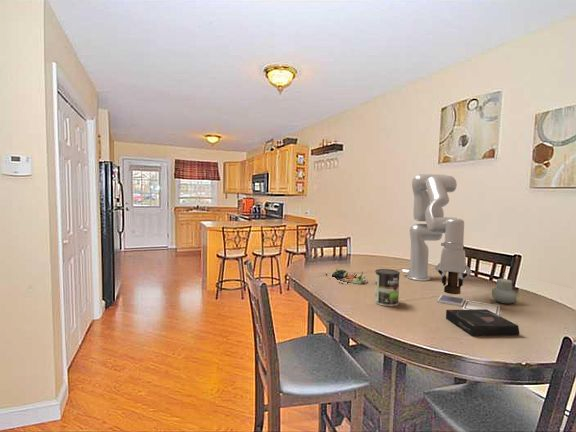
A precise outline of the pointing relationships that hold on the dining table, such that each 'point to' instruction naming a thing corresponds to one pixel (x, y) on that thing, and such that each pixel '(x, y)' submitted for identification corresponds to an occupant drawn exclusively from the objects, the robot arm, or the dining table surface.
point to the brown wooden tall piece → (452, 284)
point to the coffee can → (387, 287)
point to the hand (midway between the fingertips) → (452, 285)
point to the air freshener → (504, 292)
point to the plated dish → (349, 277)
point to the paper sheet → (481, 306)
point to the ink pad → (451, 300)
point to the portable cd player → (482, 323)
